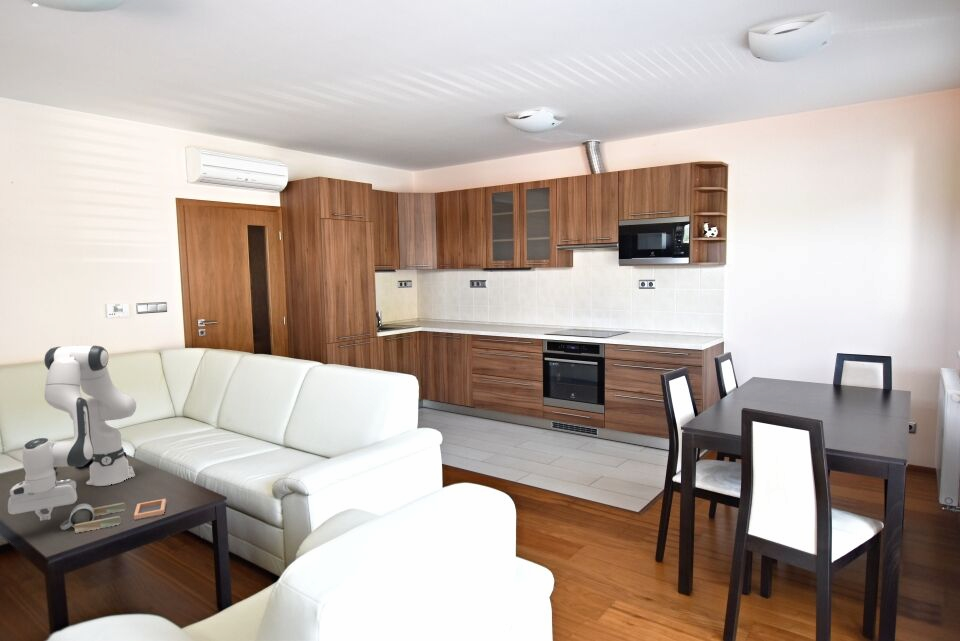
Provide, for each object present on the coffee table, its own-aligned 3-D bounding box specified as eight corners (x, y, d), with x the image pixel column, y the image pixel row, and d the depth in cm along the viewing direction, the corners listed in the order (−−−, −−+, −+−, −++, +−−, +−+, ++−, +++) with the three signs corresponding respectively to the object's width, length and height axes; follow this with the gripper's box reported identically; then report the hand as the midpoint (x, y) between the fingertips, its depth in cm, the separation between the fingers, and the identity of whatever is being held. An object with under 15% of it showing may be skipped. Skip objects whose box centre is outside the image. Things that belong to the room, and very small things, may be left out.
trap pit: (137, 508, 228) (137, 503, 228) (166, 503, 232) (165, 498, 232) (134, 520, 217) (133, 515, 217) (164, 514, 221) (163, 509, 221)
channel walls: (83, 517, 221) (82, 510, 221) (125, 509, 227) (124, 502, 227) (75, 533, 208) (74, 525, 208) (120, 524, 214) (119, 517, 214)
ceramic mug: (94, 517, 221) (92, 498, 220) (95, 525, 214) (92, 505, 213) (60, 526, 215) (58, 506, 214) (60, 534, 208) (57, 514, 207)
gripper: (77, 475, 216) (81, 510, 217) (9, 486, 207) (14, 522, 208) (73, 480, 210) (77, 516, 211) (3, 492, 201) (8, 529, 203)
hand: (45, 519), depth 210 cm, fingers closed
